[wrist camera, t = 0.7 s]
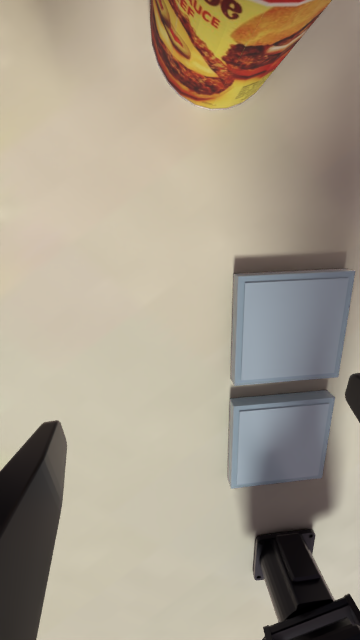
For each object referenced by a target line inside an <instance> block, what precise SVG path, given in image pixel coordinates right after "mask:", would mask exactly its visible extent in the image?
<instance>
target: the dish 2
mask: <svg viewBox="0 0 360 640" xmlns="http://www.w3.org/2000/svg"><path fill="white" fill-rule="evenodd" d="M334 400H335V397H334V396H333V395H332V394H331V393H329V392H328V391H327V390H322V391H311V392H299V393H288V394H276V395H265V396H253V397H242V398H230V414H229V448H228V481H229V484H230V487H231V488H240V487H249V486H257V485H266V484H275V483H283V482H292V481H300V480H309V479H318V478H322V475H323V468H324V462H325V456H326V450H327V444H328V437H329V431H330V425H331V419H332V413H333V406H334Z"/></svg>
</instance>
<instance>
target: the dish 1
mask: <svg viewBox="0 0 360 640" xmlns="http://www.w3.org/2000/svg"><path fill="white" fill-rule="evenodd" d="M354 276H355V271H354V270H349V269H324V270H303V271H281V272H260V273H239V274H234V279H233V312H232V346H231V380H232V382H233V384H234V386H237V385H250V384H262V383H274V382H286V381H298V380H310V379H322V378H334V377H338V375H339V369H340V363H341V357H342V350H343V344H344V338H345V332H346V326H347V319H348V313H349V307H350V301H351V295H352V288H353V282H354Z"/></svg>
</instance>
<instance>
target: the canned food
mask: <svg viewBox="0 0 360 640" xmlns="http://www.w3.org/2000/svg"><path fill="white" fill-rule="evenodd" d="M331 1H332V0H151V11H150V25H151V38H152V46H153V50H154V53H155V57H156V60H157V63H158V66H159V68H160V70H161V72H162V73H163V75H164V77H165V79H166V81H167V83H168V84H169V85H170V86H171V87H172V88H173V89H174V90H175V91H176V93H177V94H178V95H179V96H180V97H182V98H183V99H185V100H186V101H188V102H190V103H191V104H193V105H194V106H198V107H201V108H205V109H209V110H221V109H228V108H231V107H234V106H236V105H239V104H241V103H243V102H244V101H246V100H247V99H248V98H250V97H251V96H252V95H254V94H255V93H256V92H257V90H258V89H259V88H260V87H261V86H262V84H263V83H264V82H265V81H266V79H267V78H268V77H269V76H270V75H271V73H272V72H273V71H274V70H275V69H276V67H277V66H278V65H279V64H280V62H281V61H282V60H283V59H284V58H285V56H286V55H287V54H288V53H289V52H290V50H291V49H292V48H293V47H294V45H295V44H296V43H297V42H298V41H299V39H300V38H301V37H302V36H303V35H304V33H305V32H306V31H307V30H308V28H309V27H310V26H311V25H312V24H313V22H314V21H315V20H316V19H317V18H318V16H319V15H320V14H321V13H322V12H323V10H324V9H325V8H326V7H327V5H328V4H329V3H330V2H331Z"/></svg>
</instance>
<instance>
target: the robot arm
mask: <svg viewBox="0 0 360 640" xmlns="http://www.w3.org/2000/svg"><path fill="white" fill-rule="evenodd" d="M345 398H346V401H347V403H348V404H349V406H350V408H351V409H352V411H353V413H354V414H355V416H356V418H357V419H358V421H359V422H360V373H356V374H352V375H351V376H350V378H349V381H348V385H347V388H346V392H345ZM66 453H67V442H66V438H65V435H64V432H63V429H62V426H61V423H60V422H59V421H57V420H56V421H49V422H45V423H43V424H42V425H41V426H40V427H39V428H38V429H37V430H36V431H35V432H34V434H33V435H32V436H31V437H30V438H29V439H28V440H27V442H26V443H25V444H24V445H23V446H22V447H21V448H20V449H19V451H18V452H17V453H16V454H15V455H14V456H13V457H12V459H11V460H10V461H9V462H8V463H7V464H6V465H5V466H4V468H3V469H2V470H1V471H0V640H36V638H37V633H38V628H39V622H40V617H41V612H42V607H43V602H44V597H45V591H46V586H47V581H48V576H49V571H50V565H51V560H52V555H53V550H54V545H55V539H56V534H57V529H58V524H59V519H60V514H61V507H62V500H63V489H64V477H65V465H66ZM314 540H315V533H314V531H313V530H312V529H306V530H299V531H291V532H284V533H276V534H268V535H261V536H258V537H257V538H256V543H255V557H254V570H253V575H254V578H255V580H264V579H265V582H266V585H267V588H268V591H269V594H270V597H271V600H272V603H273V606H274V610H275V613H276V616H277V619H278V622H279V623H276V624H274V625H271V626H269V625H267V626H265V627H263V629H264V633H265V637H264V638H263V639H262V640H360V611H359V609H358V607H357V606H356V604H355V602H354V601H353V599H352V597H351V595H350V594H347V595H345V596H344V597H343V598H341V599H338V600H334V598H333V596H332V594H331V592H330V590H329V588H328V586H327V584H326V582H325V580H324V578H323V576H322V574H321V572H320V570H319V568H318V566H317V564H316V562H315V560H314V558H313V556H312V552H313V546H314Z"/></svg>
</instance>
